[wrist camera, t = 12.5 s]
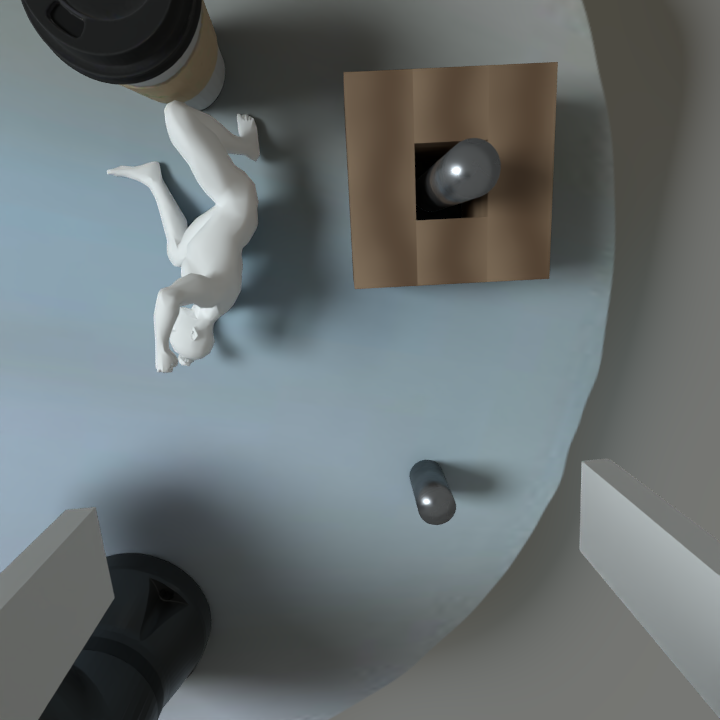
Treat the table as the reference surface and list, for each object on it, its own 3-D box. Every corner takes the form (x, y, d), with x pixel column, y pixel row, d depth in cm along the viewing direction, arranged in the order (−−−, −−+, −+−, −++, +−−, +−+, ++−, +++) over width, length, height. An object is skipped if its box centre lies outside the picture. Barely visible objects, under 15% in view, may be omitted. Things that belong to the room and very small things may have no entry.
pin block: (353, 280, 43) (354, 289, 35) (344, 105, 40) (343, 72, 32) (512, 271, 43) (549, 278, 35) (516, 97, 40) (557, 62, 32)
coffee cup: (125, 124, 40) (-4, 55, 25) (130, -8, 37) (-8, -169, 23) (243, 143, 40) (183, 86, 26) (254, 14, 38) (197, -129, 23)
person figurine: (38, 96, 29) (149, 378, 30) (243, 44, 31) (341, 309, 32) (110, 177, 42) (186, 373, 43) (252, 137, 44) (322, 324, 45)
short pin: (409, 491, 48) (418, 525, 42) (409, 460, 47) (418, 491, 41) (442, 489, 48) (455, 523, 42) (442, 459, 47) (455, 489, 41)
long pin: (413, 212, 42) (444, 199, 28) (412, 173, 41) (444, 139, 27) (450, 211, 42) (500, 196, 28) (450, 171, 41) (501, 136, 27)
